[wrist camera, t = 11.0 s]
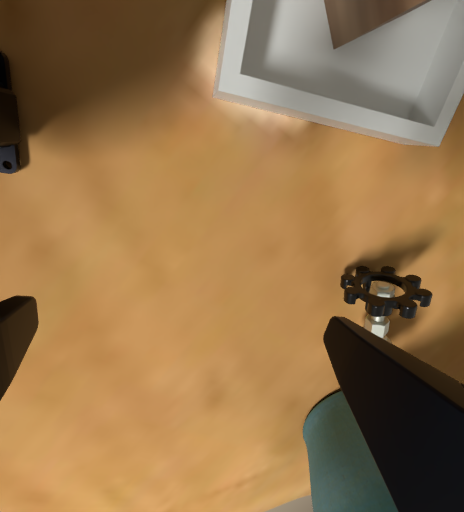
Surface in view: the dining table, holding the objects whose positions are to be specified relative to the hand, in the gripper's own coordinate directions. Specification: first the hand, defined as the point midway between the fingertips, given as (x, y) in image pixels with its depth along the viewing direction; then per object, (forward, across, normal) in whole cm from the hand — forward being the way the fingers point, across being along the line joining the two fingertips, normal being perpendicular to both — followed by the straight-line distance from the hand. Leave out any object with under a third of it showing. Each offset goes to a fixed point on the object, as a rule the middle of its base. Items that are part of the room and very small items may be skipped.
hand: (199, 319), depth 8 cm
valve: (+13, -18, +9) cm, 24 cm away
